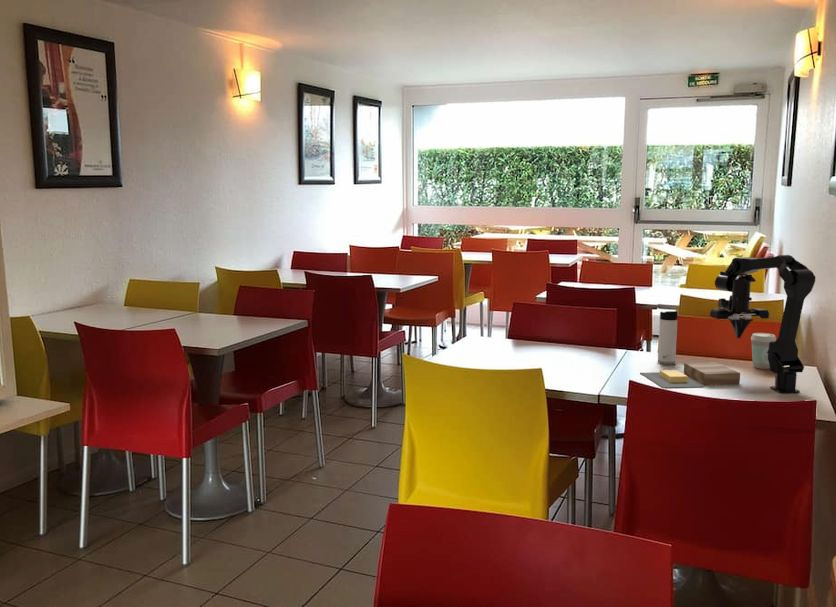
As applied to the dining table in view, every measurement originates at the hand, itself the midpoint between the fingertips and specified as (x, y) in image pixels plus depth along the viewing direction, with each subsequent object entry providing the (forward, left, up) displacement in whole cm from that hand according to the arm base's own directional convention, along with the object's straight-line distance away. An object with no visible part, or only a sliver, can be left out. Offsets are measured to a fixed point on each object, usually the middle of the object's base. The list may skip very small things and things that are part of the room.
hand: (738, 338), depth 259 cm
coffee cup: (+10, -15, -13) cm, 22 cm away
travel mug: (+19, +17, -13) cm, 29 cm away
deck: (-6, +12, -13) cm, 19 cm away
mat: (-6, +26, -13) cm, 30 cm away
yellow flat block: (-6, +25, -11) cm, 28 cm away
